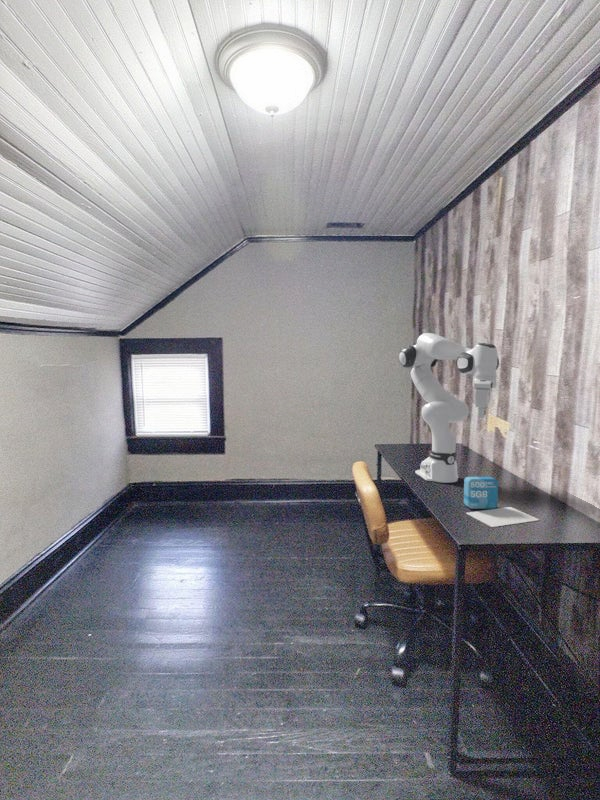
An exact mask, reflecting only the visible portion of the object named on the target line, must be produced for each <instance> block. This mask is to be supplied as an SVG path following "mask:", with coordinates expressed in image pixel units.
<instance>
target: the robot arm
mask: <svg viewBox="0 0 600 800" xmlns="http://www.w3.org/2000/svg"><path fill="white" fill-rule="evenodd" d="M398 360H399V364H400V365H401V366H402V367H403V368H407V369H408V368H410V369H411V368H412V369H411V371H410V377H411V380H412V383H413V385H414V387H415V388H416V390H417V391H418V394H419V395H420V396H421V398H422V400H424V401H425V402H427V403H426V404H424V405H423V406H422V408H421V418H422V419H423V421H424V422H425V423H426V424H427V425H428V426H429V429H430V431H431V449H428V452H429V455H428V457H426V458H425V459H424V460H422V461H421V463H420V469H416V470H415V474H416V475H418V476H420V478H421V479H423V480H425V481H428V482H436V483H443V484H444V483H445V484H447V483H448V484H449V483H450V484H451V483H456V482H458V481H459V478H460V476H459V475H458V462H457V451H456V450H457V449H456V447H457V446H456V445H457V437H456V434H455V433H454V432H452V431H451V429H450V424H452V423H453V424H454V423H459V422H461V421H462V422H463V421H465V420H466V419H467V418H468V417H469V413H470V410H469V406H468V404H467V403H466V402H464V401H462V400H459V399H458V398H456V397H455V396H453V395H452V394H451V393H450V392H449V391H447V390H446V389H445V388H444V387H443V385H442V384H441V382H440V381H439V380H438V378H437V376H435V374H434V373H433V371H432V368H431V367H433V368H434V367H435V366H436V365H437V363H438V362H439V361H453V360H454V361H455V360H456V368H457V371H459V372H460V373H461V374H465V375H472V387H473V389H474V404H475V407H476V408H477V409H478V410H477V411H478V418H479V419H483V418H484V416H485V415H487V410H488V409H487V408H488V405H489V404H490V403H491V393H492V392H493V389H494V388H495V389H496V387H497V369H498V368H499V365H500V359H499V357H498V348H497V346H496V345H495V344H492V343H486V342H479V343H477V344H475V346H474V347H472V348H471V347H467V346H465V345H463V344H460V343H457V342H455V341H452V340H450V339H449V338H446V337H445V336H442V335H439V334H436V333H431V332H424V333H421V334H420V335H419V336H418V338H417V340H416V344H414V345H411V344H410V345H408V346H407V347H404V348H401V350H400V351H399V353H398Z"/></svg>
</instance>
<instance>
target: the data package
mask: <svg viewBox="0 0 600 800" xmlns="http://www.w3.org/2000/svg"><path fill="white" fill-rule="evenodd" d="M498 490H499V482H498V480H497V479H496V478H493V477H492V476H466V477H464V480H463V504H464V506H465V507H468V509H472V510H480V509H481V510H491V509H497V507H498V503H499V502H498V500H499V499H498V498H499V491H498Z"/></svg>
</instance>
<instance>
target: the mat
mask: <svg viewBox="0 0 600 800" xmlns="http://www.w3.org/2000/svg"><path fill="white" fill-rule="evenodd" d="M465 514H466V515H468V516H469V517H471V518H474V519H475V520H477V521H479V522H480V523H483V524H485V525H486V526H488V527H491V528H492V527H493V528H498V527H499V526H500V527H505V525H506V526H511V525H512V526H513V525H518V524H526V523H533V522H540V519H539V518H537V517H534V516H532V515H531V514H528V513H525V512H523V511H521V510H519V509H516V508H514V507H511V506H506V507H499V508H494V509H482V510H476V511H469V512H465Z"/></svg>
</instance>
